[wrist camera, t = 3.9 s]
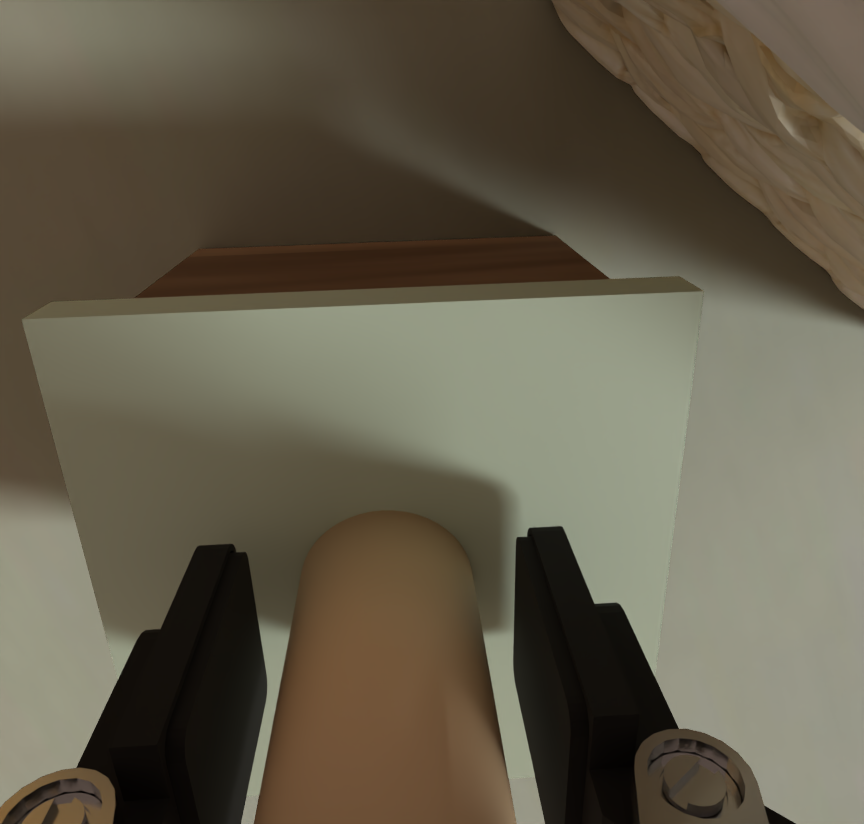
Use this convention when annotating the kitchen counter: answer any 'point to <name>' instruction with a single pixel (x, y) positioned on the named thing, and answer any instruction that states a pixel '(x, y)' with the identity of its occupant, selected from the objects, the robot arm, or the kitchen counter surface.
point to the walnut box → (373, 266)
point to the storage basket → (755, 103)
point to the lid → (376, 502)
